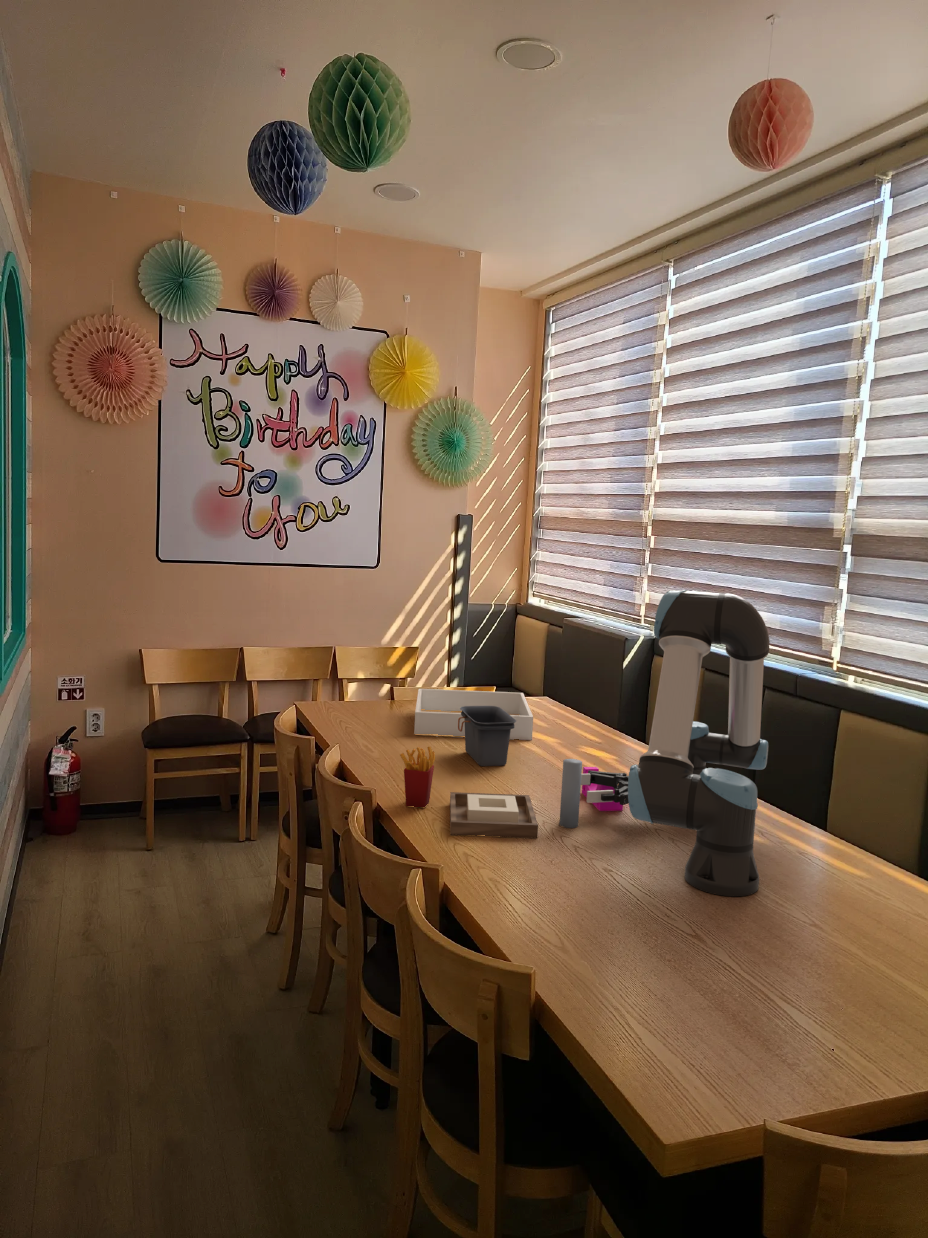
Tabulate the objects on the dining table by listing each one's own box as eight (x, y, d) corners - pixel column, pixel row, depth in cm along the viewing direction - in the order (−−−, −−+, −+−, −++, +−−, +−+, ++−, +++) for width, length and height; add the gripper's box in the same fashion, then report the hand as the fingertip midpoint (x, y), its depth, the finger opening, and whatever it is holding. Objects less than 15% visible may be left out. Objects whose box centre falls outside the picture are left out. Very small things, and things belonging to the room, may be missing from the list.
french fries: (427, 810, 229) (429, 752, 227) (395, 806, 230) (397, 749, 229) (435, 799, 237) (437, 743, 236) (404, 796, 239) (407, 740, 237)
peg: (579, 828, 221) (583, 764, 219) (560, 827, 221) (564, 763, 219) (576, 822, 225) (580, 759, 223) (558, 821, 225) (562, 758, 223)
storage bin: (517, 768, 270) (520, 721, 268) (467, 770, 266) (469, 722, 264) (495, 749, 290) (497, 705, 289) (449, 750, 286) (450, 706, 284)
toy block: (622, 811, 236) (624, 783, 235) (599, 811, 235) (601, 783, 234) (603, 793, 250) (605, 766, 249) (581, 793, 249) (583, 767, 248)
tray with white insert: (537, 838, 213) (538, 825, 212) (450, 835, 212) (451, 822, 212) (528, 807, 235) (529, 795, 234) (449, 804, 234) (450, 792, 234)
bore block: (517, 830, 218) (518, 811, 217) (467, 828, 217) (468, 810, 217) (513, 813, 230) (514, 796, 229) (466, 811, 229) (467, 794, 229)
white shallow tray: (532, 740, 304) (533, 716, 303) (414, 735, 303) (415, 712, 302) (522, 713, 343) (523, 692, 342) (417, 709, 342) (418, 688, 341)
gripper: (677, 815, 217) (596, 820, 212) (631, 784, 241) (556, 787, 235) (680, 785, 217) (598, 789, 211) (633, 756, 240) (558, 759, 235)
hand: (576, 788), depth 223 cm, fingers open, 13 cm apart
